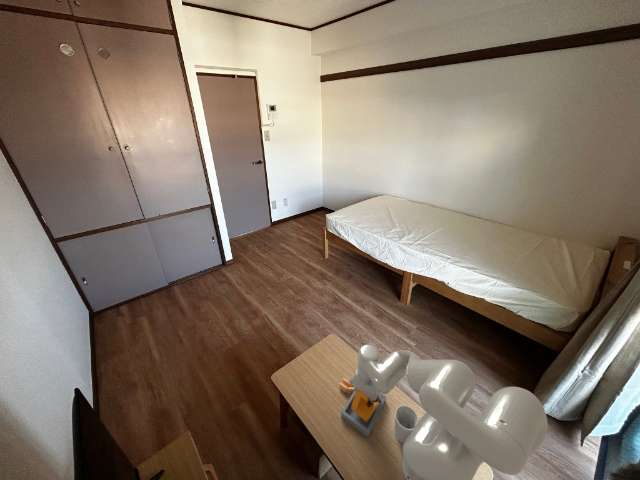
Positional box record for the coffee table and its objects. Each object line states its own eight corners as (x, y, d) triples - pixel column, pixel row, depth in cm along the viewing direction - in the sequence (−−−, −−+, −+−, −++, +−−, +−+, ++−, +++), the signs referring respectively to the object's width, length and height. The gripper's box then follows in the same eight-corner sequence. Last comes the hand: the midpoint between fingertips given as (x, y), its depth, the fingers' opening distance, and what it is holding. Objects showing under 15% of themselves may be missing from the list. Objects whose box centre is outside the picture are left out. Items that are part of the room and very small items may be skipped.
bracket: (366, 423, 95) (369, 407, 89) (351, 409, 99) (352, 393, 93) (380, 400, 102) (384, 384, 96) (365, 388, 106) (368, 372, 100)
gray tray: (385, 401, 105) (386, 396, 103) (368, 437, 94) (368, 433, 92) (360, 384, 111) (360, 380, 109) (341, 416, 100) (341, 412, 98)
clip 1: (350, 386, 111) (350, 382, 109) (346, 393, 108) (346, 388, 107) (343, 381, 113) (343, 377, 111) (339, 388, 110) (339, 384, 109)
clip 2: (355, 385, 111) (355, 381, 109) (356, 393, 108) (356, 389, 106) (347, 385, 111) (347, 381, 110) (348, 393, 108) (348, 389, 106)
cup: (388, 435, 94) (391, 419, 88) (396, 416, 100) (400, 400, 94) (409, 451, 90) (414, 435, 84) (416, 430, 95) (421, 414, 89)
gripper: (393, 378, 88) (388, 405, 97) (352, 353, 97) (351, 380, 106) (384, 396, 83) (379, 422, 92) (342, 368, 92) (341, 395, 101)
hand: (364, 399), depth 99 cm, fingers closed on bracket, 4 cm apart
